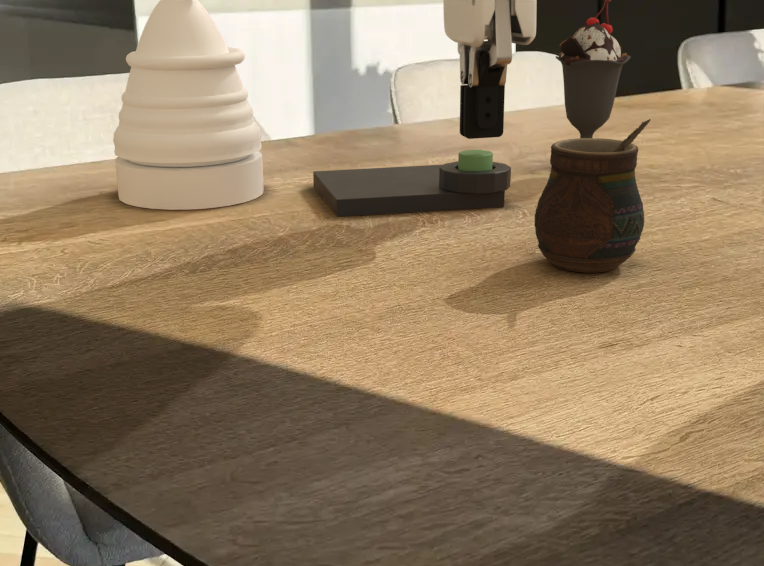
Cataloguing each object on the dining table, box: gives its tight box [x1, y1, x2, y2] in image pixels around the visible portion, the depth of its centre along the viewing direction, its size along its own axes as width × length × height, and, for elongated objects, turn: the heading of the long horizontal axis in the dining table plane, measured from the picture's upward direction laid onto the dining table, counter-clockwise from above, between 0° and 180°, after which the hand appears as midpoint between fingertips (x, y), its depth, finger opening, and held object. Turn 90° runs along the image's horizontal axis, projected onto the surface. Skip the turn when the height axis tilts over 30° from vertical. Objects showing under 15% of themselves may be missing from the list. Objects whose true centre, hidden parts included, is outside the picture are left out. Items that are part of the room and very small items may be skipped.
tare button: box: [457, 149, 494, 171], centre depth 92 cm, size 3×3×2 cm
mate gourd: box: [534, 118, 651, 274], centre depth 74 cm, size 7×8×10 cm
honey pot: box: [112, 0, 265, 211], centre depth 95 cm, size 13×13×18 cm
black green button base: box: [312, 161, 512, 218], centre depth 95 cm, size 15×13×3 cm
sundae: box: [555, 0, 631, 138], centre depth 102 cm, size 7×7×15 cm
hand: (481, 135), depth 91 cm, fingers closed
